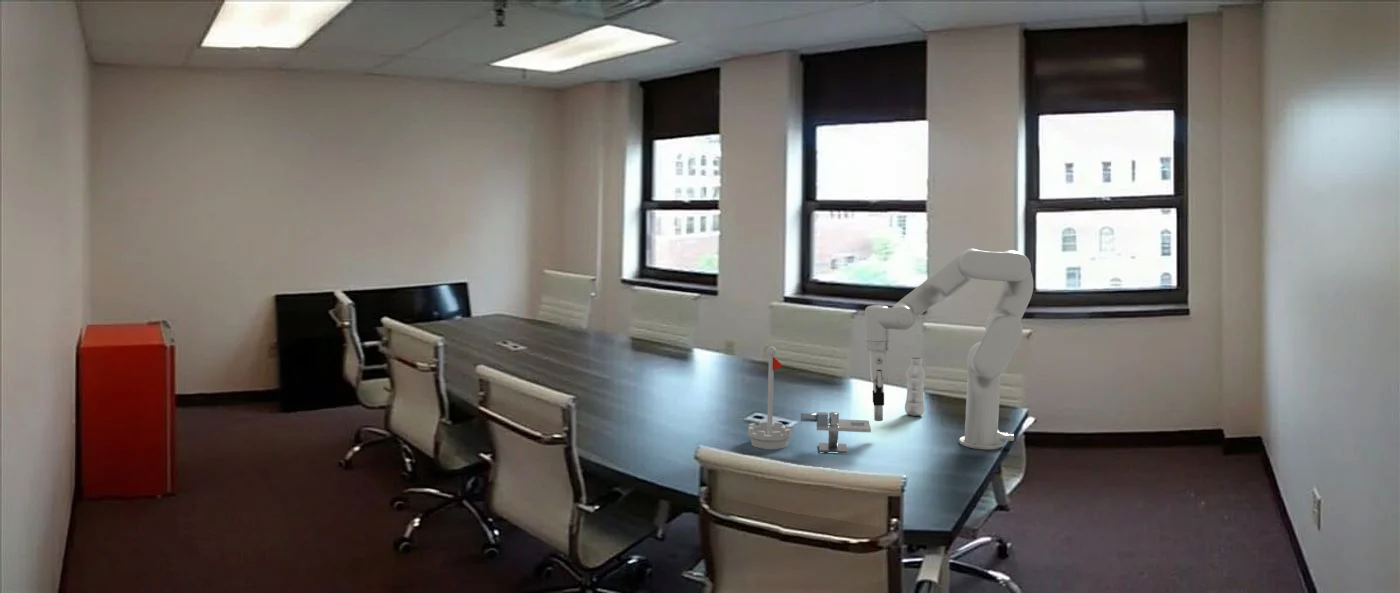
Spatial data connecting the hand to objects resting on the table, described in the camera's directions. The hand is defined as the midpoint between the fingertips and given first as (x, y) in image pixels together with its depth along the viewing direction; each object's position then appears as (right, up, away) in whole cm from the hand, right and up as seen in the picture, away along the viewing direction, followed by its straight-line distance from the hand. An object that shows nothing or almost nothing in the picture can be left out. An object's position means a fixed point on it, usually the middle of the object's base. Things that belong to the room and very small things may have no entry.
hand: (878, 403), depth 277 cm
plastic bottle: (+19, -8, +31) cm, 37 cm away
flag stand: (-34, -12, -7) cm, 37 cm away
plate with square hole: (-16, -12, -12) cm, 23 cm away
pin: (0, -5, +1) cm, 5 cm away
